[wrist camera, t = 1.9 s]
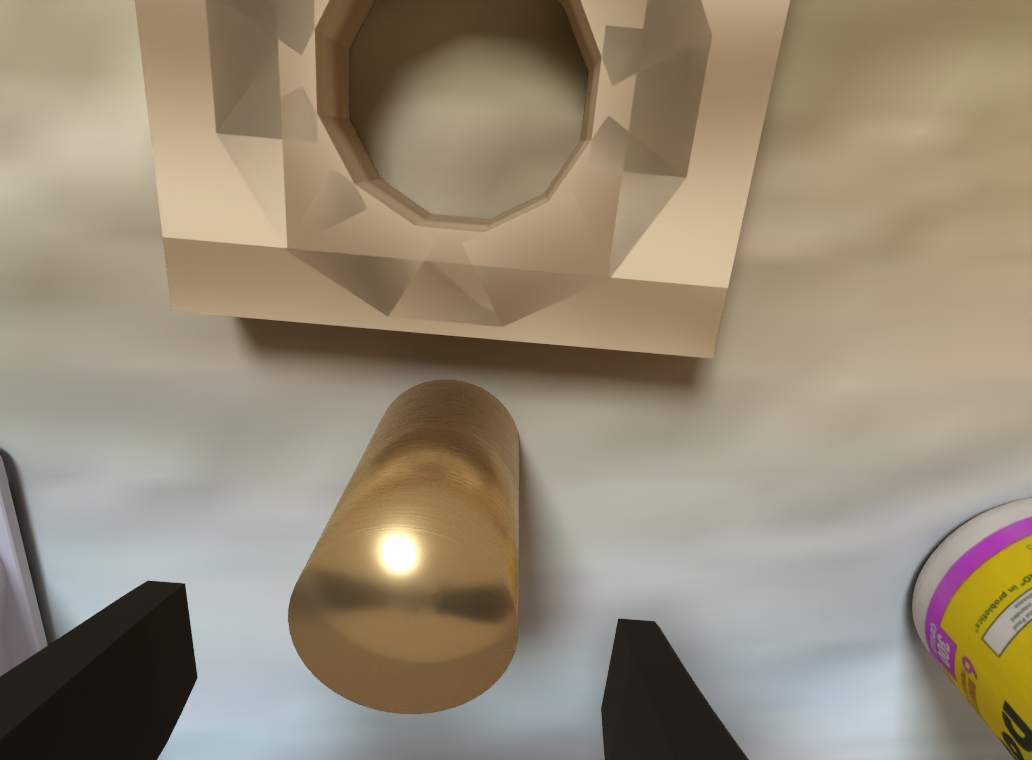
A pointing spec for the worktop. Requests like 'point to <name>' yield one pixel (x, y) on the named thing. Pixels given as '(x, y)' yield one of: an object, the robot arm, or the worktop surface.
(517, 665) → the worktop surface
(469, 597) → the brass round peg
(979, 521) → the supplement bottle
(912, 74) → the worktop surface
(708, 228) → the jig
